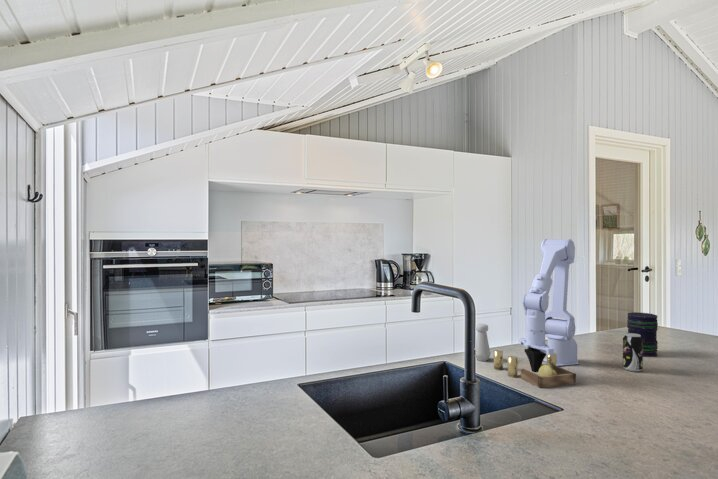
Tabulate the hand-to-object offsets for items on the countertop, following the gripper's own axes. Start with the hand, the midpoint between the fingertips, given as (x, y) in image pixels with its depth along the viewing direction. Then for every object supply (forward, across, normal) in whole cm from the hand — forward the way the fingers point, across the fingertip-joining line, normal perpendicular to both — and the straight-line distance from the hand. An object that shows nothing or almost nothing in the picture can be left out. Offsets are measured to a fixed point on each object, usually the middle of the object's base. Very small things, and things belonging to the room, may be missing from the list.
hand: (535, 371), depth 143 cm
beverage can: (+1, +5, +35) cm, 35 cm away
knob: (+1, +6, 0) cm, 6 cm away
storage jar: (+2, -10, +56) cm, 57 cm away
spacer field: (+1, -6, 0) cm, 6 cm away
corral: (+1, +5, 0) cm, 6 cm away
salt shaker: (+1, -21, -7) cm, 22 cm away
